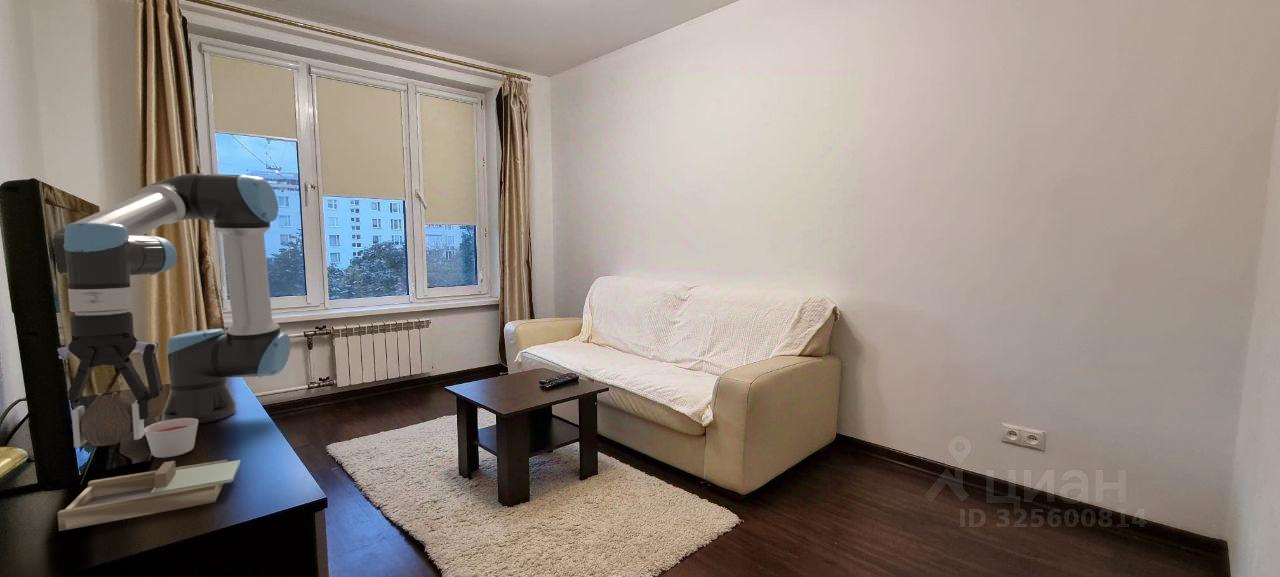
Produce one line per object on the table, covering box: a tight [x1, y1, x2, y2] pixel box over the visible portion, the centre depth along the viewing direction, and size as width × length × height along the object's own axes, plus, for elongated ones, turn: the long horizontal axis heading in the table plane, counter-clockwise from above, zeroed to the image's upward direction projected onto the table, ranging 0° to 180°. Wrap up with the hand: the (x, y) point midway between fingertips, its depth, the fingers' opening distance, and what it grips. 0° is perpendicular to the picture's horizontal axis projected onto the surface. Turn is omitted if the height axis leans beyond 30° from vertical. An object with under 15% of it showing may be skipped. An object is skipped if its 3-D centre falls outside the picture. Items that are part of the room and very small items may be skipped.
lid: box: [151, 459, 241, 495], centre depth 98 cm, size 10×11×3 cm
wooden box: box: [57, 459, 228, 532], centre depth 95 cm, size 13×20×3 cm, turn 121°
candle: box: [144, 418, 199, 459], centre depth 115 cm, size 9×9×6 cm
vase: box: [81, 391, 134, 447], centre depth 91 cm, size 7×7×9 cm
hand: (110, 440), depth 91 cm, fingers closed on vase, 7 cm apart
